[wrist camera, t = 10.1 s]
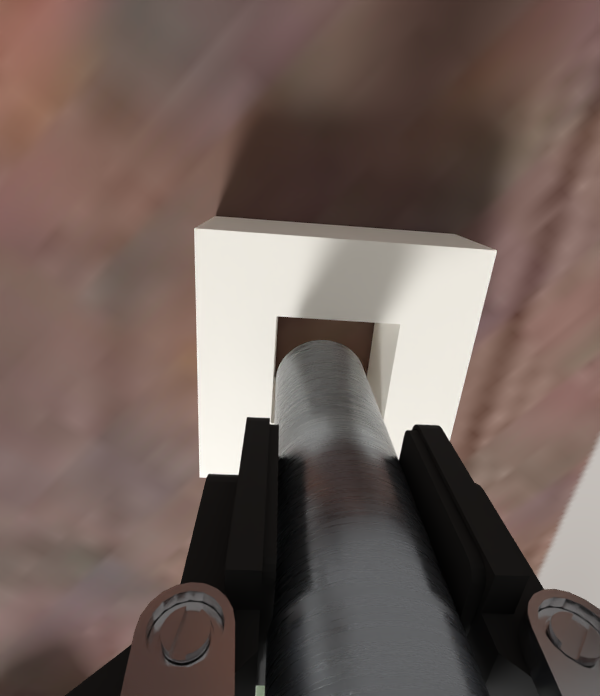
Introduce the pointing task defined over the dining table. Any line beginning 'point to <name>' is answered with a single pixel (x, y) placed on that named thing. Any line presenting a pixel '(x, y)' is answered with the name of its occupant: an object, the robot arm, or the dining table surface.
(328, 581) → the peg
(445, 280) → the socket block
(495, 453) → the dining table surface
